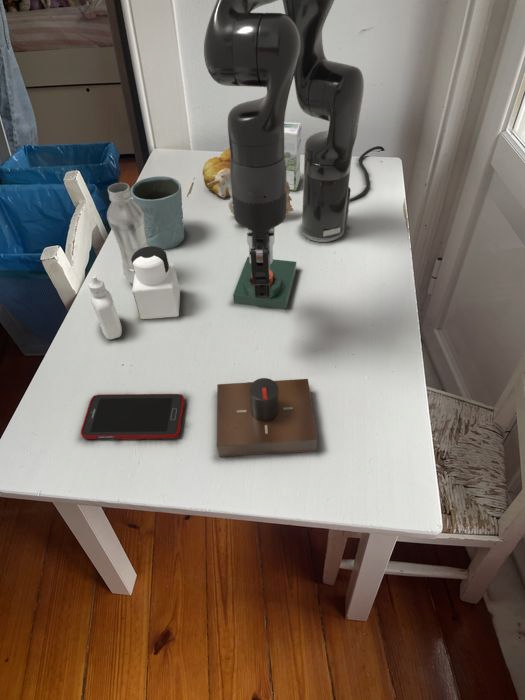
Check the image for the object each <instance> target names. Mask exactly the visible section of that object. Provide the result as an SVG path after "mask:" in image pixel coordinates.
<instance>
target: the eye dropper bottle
mask: <svg viewBox="0 0 525 700" xmlns="http://www.w3.org/2000/svg"><path fill="white" fill-rule="evenodd" d="M88 288H89V291H90V302H91V305H92V308H93V310H94V313H95V316H96V318H97V321H98V322H99V326H100V329H101V331H102V333H103V335H104V337H105V338H106V339H107V340H114V339H118V338H120V337H121V336H122V333H123V327H122V323H121V320H120V317H119V313H118V311H117V308H116V305H115V303H114V300H113V296H112V294H111V292H110V290H108V289H107V288H106V286H105V282H104V281H103V279H98V277H97V276H96V275H91V281H90V282H89V283H88Z"/></svg>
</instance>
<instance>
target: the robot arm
mask: <svg viewBox="0 0 525 700" xmlns="http://www.w3.org/2000/svg"><path fill="white" fill-rule="evenodd" d="M277 1H278V0H216V2H215V4H214V6H213V9H212V12H211V15H210V17H209V20H208V24H207V27H206V30H205V36H204V40H203V58H204V63H205V67H206V69H207V71H208V73H209V75H210V77H211V78H212V80H213V81H214V82H216V83H217V84H219V85H221V86H226V87H248V88H249V87H250V88H251V87H252V88H253V87H254V88H266V94H265V95H264V96H263V97H260V98H257V99H253V100H248V101H245V102H241V103H239V104H236V105H235V106H233V107H232V108H231V109H230V110H229V113H228V115H227V133H228V144H229V148H230V156H231V164H230V177H231V188H232V199H233V209H234V215H233V218H234V220H235V222H236V223H237V224H238V225H239V224H240V225H241V226H240V225H239V226H240V227H243V228H245V229H247V231H248V232H247V233H246V237H247V238H246V242H247V245H248V249H249V250H248V253H249V254H248V257H249V262H250V264H251V268H252V283H253V285H255V296H256V297H257V298H269V296H270V287H269V282H270V278H271V275H270V264H272V262H273V259H274V248H273V247H274V244H275V228H276V227H278V226H279V225H281V224H282V223H283V222H284V221H285V220H286V217H287V214H286V164H285V156H284V122H286V111H287V105H288V100H289V97H290V91H291V86H292V83H293V81H294V89H295V95H296V100H297V104H298V106H299V108H300V110H301V111H302V112H303V113H304V114H306V115H308V116H310V117H313V118H316V119H320V120H323V121H326V122H328V123H329V124H328V130H322V131H318V132H315V133H313V134H311V135H310V136H308V137H307V139H306V140H305V142H304V153H303V154H304V158H303V183H302V184H303V185H302V187H303V188H302V209H301V210H302V213H301V228H300V231H301V233H302V235H303V236H304V237H305V238H306V239H308V240H310V241H312V242H315V243H331V242H334V241H337V240H339V239H341V238H342V237H343V235H344V233H345V229H346V228H347V227H348V226H347V225H348V217H349V216H348V215H349V207H350V203H351V202H353V201H356V200H358V199H360V198H361V197H363V196H364V195H365V194H366V193H367V192H368V190H369V188H370V178H369V173H368V170H367V168H366V167H365V165H364V163H363V162H362V161H363V158H364V157H365V156H367V155H368V154H370V153H371V152H373V151H374V150H381V151H385V147H383V146H381V145H377V146H372V147H371V148H369V149H368V150H366V151H364V152H363V153H362V154H361V155H360V156H359V158H358V164H359V166H360V167H361V170H363V173H364V178H365V187H364V190H363V191H362V192H360V193H359V194H357V195H356V196H354V197H352V198H351V191H352V190H351V188H350V178H351V177H350V176H351V166H352V159H353V150H354V147H355V142H356V139H357V136H358V135H357V134H358V128H359V121H360V115H361V109H362V103H363V97H364V87H365V82H364V81H365V80H364V75H363V72H362V71H361V69H360V68H359V67H357V66H354V65H350V64H346V63H341V62H336V61H332V60H328V59H327V57H326V55H325V51H324V44H323V29H324V26H325V23H326V20H327V18H328V16H329V14H330V11H331V9H332V7H333V5H334V2H335V0H281V1H282V5H283V11H284V13H281V12H252V11H254V10H255V9H257V8H260V7H263V6H266V5H269V4H272V3H275V2H277Z"/></svg>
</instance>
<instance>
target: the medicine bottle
mask: <svg viewBox="0 0 525 700" xmlns="http://www.w3.org/2000/svg"><path fill="white" fill-rule="evenodd" d="M131 261H132V265H133V268H134V272H135V276H134V282H133V284H132V289H131V291H132V295H133V298H134V301H135V305H136V308H137V312H138V315H139V318H140V320H151V319H163V318H175V317H176V318H177V317H179V316H180V302H181V290H180V285H179V280H178V275H177V270H176V269H177V268H176V264H175V263H169V260H168V255H167V252H166V251H165V249H161V248H159V247H155V246H149V247H144V248H141V249H139V250H137V251H136V252H135V253H134V254H133V256H132V258H131Z"/></svg>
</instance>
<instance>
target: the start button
mask: <svg viewBox="0 0 525 700" xmlns="http://www.w3.org/2000/svg"><path fill="white" fill-rule="evenodd" d="M270 275H271V278H270V282H269V287H270V286H271V285H272V284H273V272H272V271H271V270H270ZM251 278H252V274H251ZM252 284H253V283H252ZM253 286H255V285H253Z"/></svg>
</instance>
